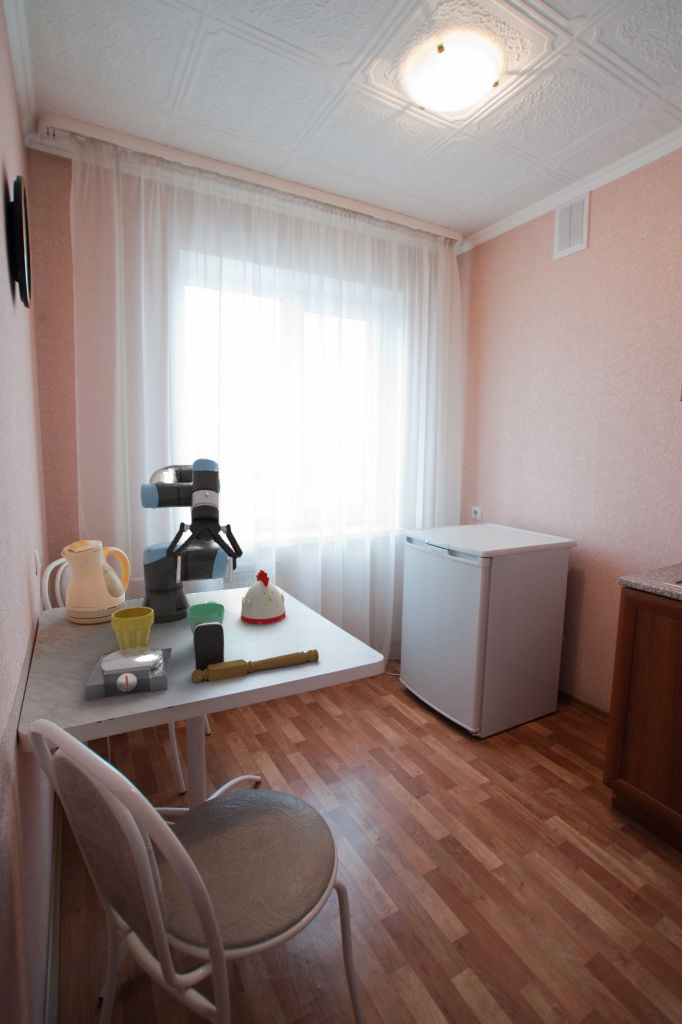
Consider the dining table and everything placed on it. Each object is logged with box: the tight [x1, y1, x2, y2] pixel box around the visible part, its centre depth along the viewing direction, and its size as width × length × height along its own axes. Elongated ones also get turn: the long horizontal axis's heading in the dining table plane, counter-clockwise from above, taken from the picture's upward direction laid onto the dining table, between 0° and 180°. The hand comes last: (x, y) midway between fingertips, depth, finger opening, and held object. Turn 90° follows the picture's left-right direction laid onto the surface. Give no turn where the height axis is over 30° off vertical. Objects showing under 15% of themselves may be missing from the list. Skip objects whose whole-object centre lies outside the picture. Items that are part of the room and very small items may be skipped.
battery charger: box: [192, 621, 225, 671], centre depth 113 cm, size 7×4×11 cm, turn 110°
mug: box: [186, 600, 225, 635], centre depth 130 cm, size 15×10×10 cm
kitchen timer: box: [240, 569, 286, 625], centre depth 150 cm, size 14×14×15 cm
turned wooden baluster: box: [191, 649, 320, 684], centre depth 113 cm, size 3×3×30 cm
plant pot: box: [110, 606, 155, 650], centre depth 126 cm, size 10×10×10 cm
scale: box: [84, 645, 173, 701], centre depth 109 cm, size 16×16×5 cm
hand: (205, 581), depth 128 cm, fingers open, 13 cm apart
